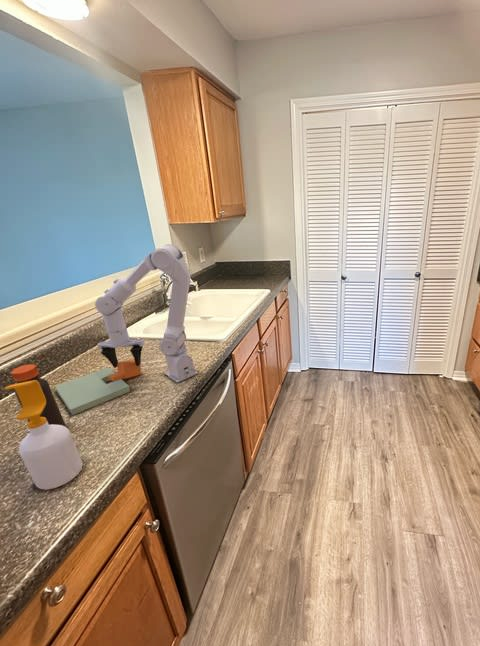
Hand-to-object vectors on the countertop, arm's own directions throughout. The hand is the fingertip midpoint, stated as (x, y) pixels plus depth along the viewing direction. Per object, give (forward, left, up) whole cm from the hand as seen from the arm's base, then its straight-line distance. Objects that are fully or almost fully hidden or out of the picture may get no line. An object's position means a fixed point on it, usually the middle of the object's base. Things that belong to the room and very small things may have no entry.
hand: (127, 365), depth 113 cm
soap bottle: (-34, +28, -5) cm, 44 cm away
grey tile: (0, +12, -4) cm, 13 cm away
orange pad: (0, +2, -3) cm, 4 cm away
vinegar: (-15, +26, -5) cm, 31 cm away
